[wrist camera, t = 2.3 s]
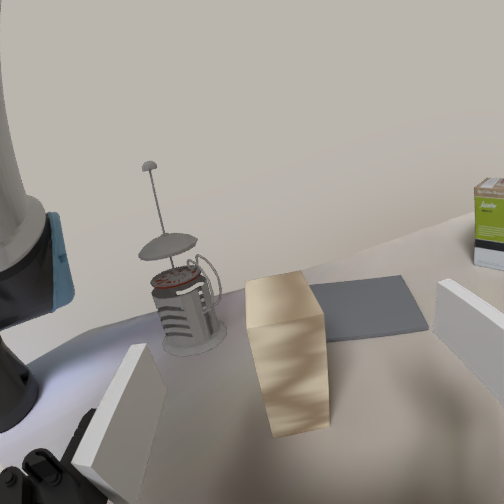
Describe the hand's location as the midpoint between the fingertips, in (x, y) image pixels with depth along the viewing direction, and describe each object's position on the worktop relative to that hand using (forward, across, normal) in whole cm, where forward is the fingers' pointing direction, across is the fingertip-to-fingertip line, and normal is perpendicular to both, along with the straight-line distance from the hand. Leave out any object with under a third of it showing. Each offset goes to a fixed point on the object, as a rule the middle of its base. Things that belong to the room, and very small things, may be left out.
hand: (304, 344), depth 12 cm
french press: (+26, -12, -14) cm, 32 cm away
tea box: (+28, +46, -15) cm, 56 cm away
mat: (+26, +10, -14) cm, 31 cm away
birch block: (+10, 0, -14) cm, 18 cm away
